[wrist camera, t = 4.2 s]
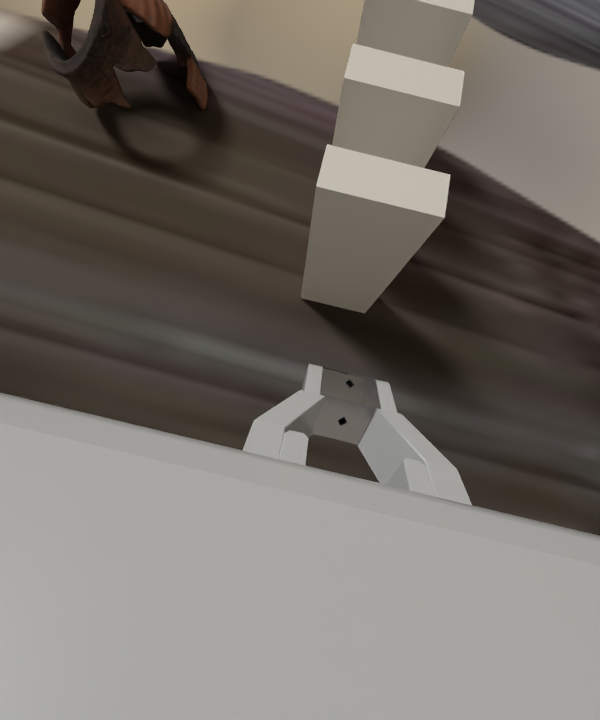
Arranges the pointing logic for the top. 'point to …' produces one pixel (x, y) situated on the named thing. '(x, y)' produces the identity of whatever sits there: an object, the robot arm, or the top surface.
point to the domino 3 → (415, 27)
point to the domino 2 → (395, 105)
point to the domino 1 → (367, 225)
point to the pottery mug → (116, 47)
